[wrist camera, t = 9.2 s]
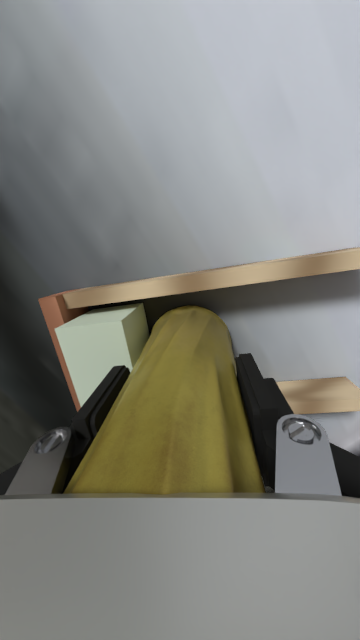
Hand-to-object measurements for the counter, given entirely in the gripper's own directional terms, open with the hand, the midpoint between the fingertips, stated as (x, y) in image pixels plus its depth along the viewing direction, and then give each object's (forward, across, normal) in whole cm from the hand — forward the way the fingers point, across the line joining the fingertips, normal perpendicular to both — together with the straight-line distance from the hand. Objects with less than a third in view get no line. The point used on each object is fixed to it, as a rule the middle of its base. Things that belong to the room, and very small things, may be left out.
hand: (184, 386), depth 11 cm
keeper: (+6, +5, 0) cm, 8 cm away
